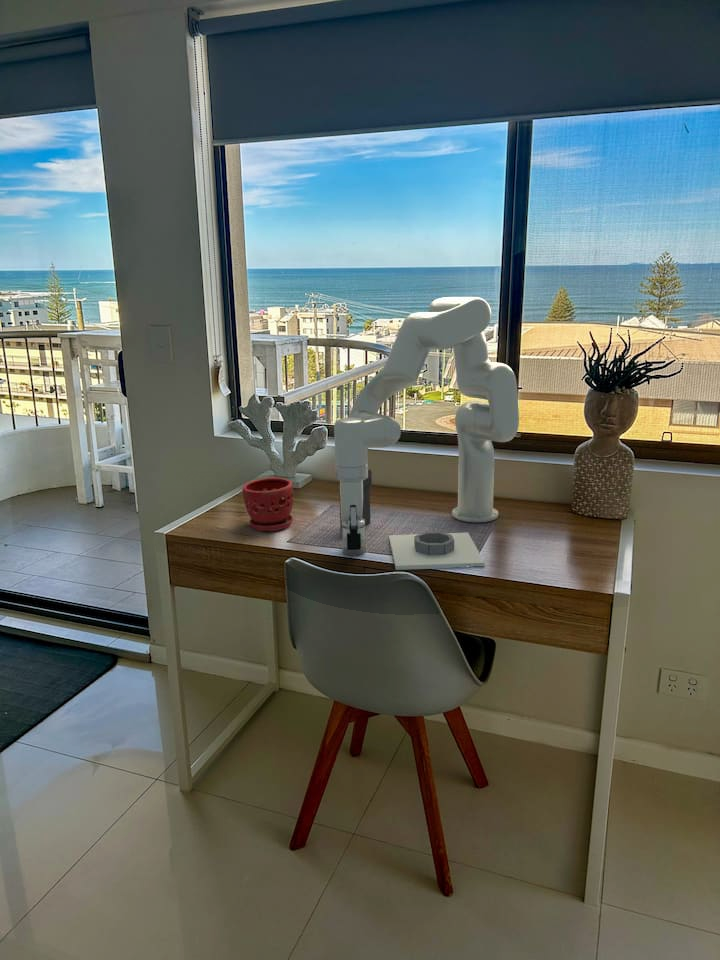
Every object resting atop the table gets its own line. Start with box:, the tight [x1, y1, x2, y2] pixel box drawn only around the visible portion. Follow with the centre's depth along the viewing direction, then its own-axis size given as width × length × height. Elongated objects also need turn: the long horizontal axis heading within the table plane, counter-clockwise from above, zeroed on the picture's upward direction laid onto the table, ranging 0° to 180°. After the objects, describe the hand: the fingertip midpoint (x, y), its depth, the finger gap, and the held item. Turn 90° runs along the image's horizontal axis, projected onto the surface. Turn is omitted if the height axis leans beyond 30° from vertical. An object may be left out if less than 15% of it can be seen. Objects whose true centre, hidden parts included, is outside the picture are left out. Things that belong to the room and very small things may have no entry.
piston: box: [341, 518, 366, 557], centre depth 163 cm, size 6×6×8 cm
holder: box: [388, 531, 486, 571], centre depth 162 cm, size 20×20×4 cm
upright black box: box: [338, 469, 373, 532], centre depth 178 cm, size 11×4×15 cm, turn 152°
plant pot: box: [242, 477, 294, 532], centre depth 182 cm, size 13×13×12 cm
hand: (353, 543), depth 163 cm, fingers closed on piston, 5 cm apart
